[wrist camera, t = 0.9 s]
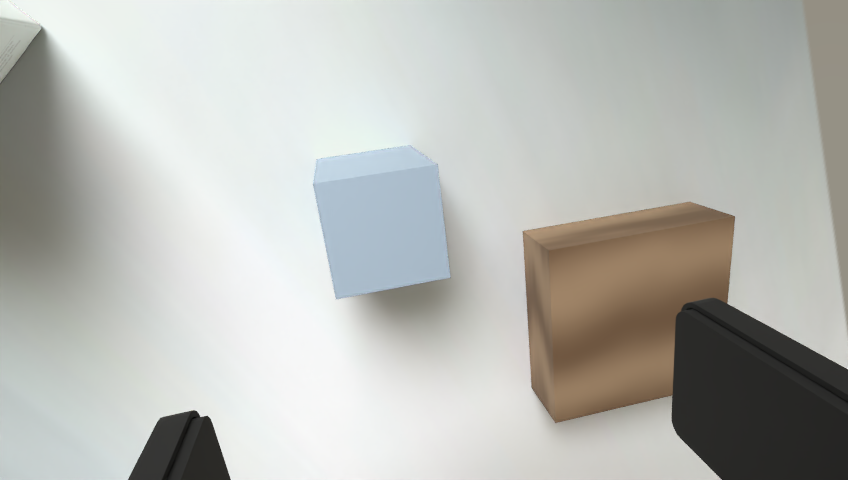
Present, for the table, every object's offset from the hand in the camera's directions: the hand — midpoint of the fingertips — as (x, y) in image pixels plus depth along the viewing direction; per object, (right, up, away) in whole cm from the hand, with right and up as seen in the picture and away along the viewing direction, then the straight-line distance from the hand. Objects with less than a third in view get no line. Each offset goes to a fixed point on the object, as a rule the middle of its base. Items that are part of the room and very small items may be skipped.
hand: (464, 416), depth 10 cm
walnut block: (+11, 0, +22) cm, 25 cm away
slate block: (-4, +6, +17) cm, 19 cm away
